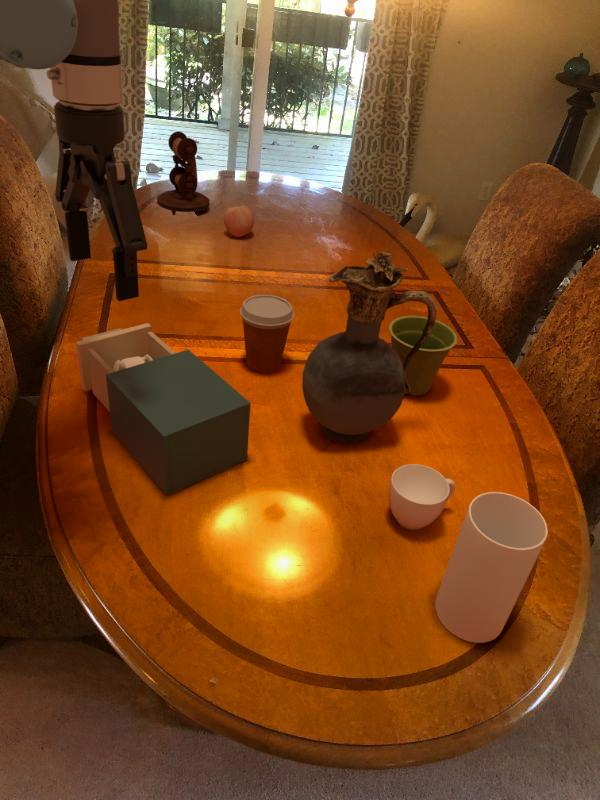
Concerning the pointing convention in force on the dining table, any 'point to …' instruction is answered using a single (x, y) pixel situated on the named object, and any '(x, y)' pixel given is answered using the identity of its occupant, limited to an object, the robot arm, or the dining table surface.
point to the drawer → (115, 355)
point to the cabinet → (178, 419)
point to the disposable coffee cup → (265, 331)
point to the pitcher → (362, 356)
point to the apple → (238, 220)
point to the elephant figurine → (130, 362)
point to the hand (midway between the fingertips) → (103, 277)
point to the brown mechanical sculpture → (183, 178)
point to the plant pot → (421, 350)
